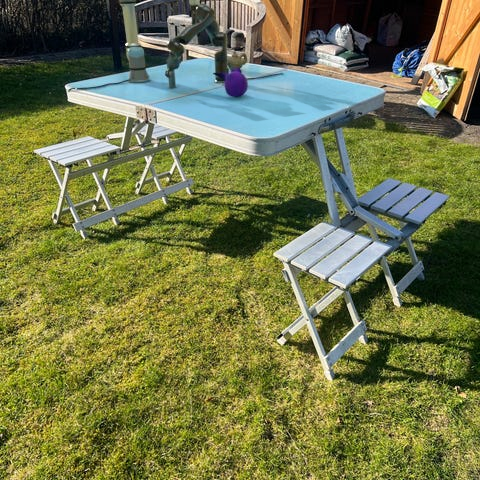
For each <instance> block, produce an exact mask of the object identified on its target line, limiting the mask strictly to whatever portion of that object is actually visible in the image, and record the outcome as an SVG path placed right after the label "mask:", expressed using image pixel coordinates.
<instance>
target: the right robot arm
mask: <svg viewBox="0 0 480 480" xmlns="http://www.w3.org/2000/svg"><path fill="white" fill-rule="evenodd" d="M216 14H217V12H216V10H215V9H214V8H212V7H211V6H209V5H208V4H206V3H200V4H199V5H198V7H197V9H196V16H197V18H198V19H199V20H200V22H199V23H197V24H194V25H192V24H190V25H188V26H187V27H185V28H184V29H182V31H181V32H180V33H179V34H178V35H176V36H175V37H172V38H170V39H169V40H168V41H167V44H166V48H167V50H168V51H169V54H168V58H167V59H168V66H169V68H168V70H165V73H164V76H165V77H166V78H167V79H168V78H170V76H171V74H172V73H173V71H174V72H175V70H178V69H179V67H180V65H181V63H182V58H181V57H182V56H183V55H184V53H185V46H187V45H188V44H189V43H190V42H191V41H192V40H193V39H194V38H195V37H197V34H198V33H199V32H200V33H201V32H202V31H204V30H205V32H206V33H207V35H208V36H209V39H210V42H211V44H212V46H213V47H215V48H221V49H220V50H218V51H216V52H214V55H213V56H214V73H229V74H230V69H229V67H228V64H227V58H228V35H227V33H226V32H220V31H221V27H220V24H219V22H218V21H217V19H216ZM171 71H172V72H171ZM279 75H284V73H283V72H280V73H273V74H268V75H264V76H258V77H250V78H249V77H246V79H247V80H258V79H265V78H268V77H273V76H279ZM214 76H215V80H214V81H215V83H217V84H225V80H223V79H221V78H220V77H218V76H216V75H214Z"/></svg>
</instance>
